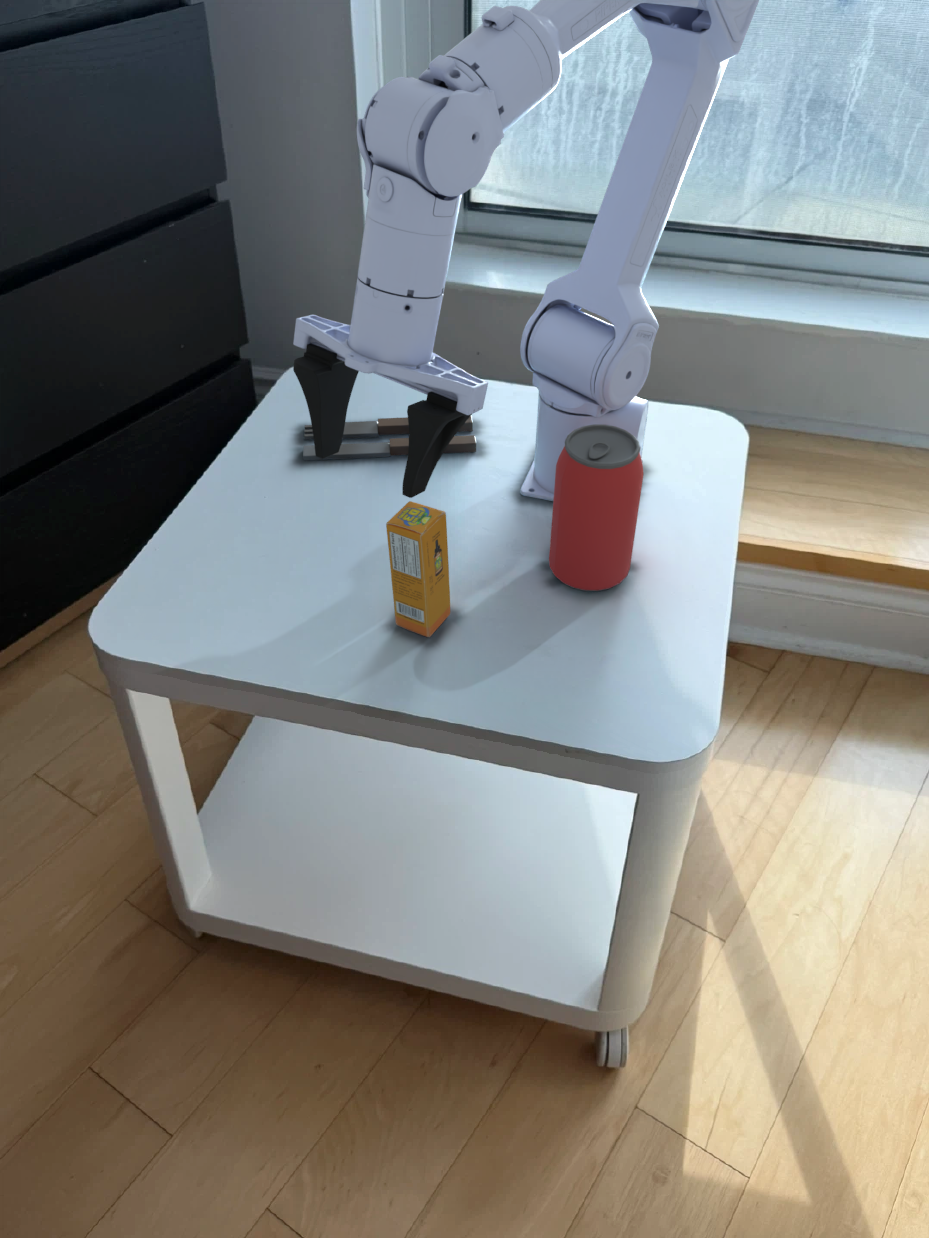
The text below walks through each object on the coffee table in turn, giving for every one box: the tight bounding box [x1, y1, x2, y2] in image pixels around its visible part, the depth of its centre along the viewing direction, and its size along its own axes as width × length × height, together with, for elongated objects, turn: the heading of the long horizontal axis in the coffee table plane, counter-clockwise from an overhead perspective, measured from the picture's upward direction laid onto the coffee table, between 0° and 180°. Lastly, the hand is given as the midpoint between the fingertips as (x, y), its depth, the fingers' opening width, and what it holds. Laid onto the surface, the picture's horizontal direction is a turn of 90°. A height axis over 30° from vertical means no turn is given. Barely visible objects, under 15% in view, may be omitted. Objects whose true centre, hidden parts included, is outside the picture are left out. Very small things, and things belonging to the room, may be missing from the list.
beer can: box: [548, 424, 645, 592], centre depth 83 cm, size 7×7×12 cm
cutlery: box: [302, 414, 477, 461], centre depth 101 cm, size 16×6×1 cm, turn 95°
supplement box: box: [385, 500, 451, 638], centre depth 79 cm, size 3×3×10 cm
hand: (369, 473), depth 77 cm, fingers open, 7 cm apart
